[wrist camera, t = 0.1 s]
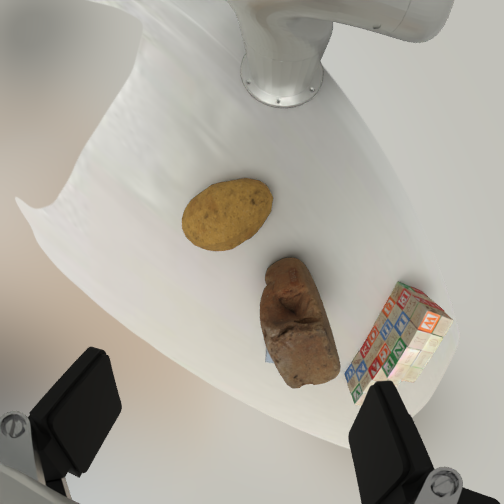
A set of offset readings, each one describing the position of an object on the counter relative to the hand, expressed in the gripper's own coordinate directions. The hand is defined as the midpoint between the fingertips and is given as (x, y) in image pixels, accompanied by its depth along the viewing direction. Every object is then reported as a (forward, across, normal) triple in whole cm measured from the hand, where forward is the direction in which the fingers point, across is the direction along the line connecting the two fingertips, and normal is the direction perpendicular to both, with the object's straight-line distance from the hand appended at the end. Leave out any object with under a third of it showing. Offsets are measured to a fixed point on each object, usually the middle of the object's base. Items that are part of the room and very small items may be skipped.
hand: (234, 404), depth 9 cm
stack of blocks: (+37, -24, +18) cm, 48 cm away
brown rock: (+37, -6, +10) cm, 39 cm away
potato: (+37, +5, -2) cm, 37 cm away
